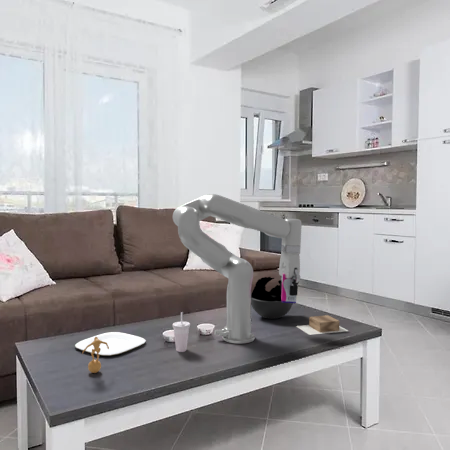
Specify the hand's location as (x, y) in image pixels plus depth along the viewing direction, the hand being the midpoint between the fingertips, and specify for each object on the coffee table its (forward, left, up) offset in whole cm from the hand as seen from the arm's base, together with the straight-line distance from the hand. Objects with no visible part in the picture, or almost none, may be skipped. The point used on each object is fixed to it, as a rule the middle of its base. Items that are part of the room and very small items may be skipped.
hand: (288, 292), depth 177 cm
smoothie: (-45, -6, -17) cm, 49 cm away
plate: (-69, +6, -18) cm, 72 cm away
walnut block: (+17, +1, -16) cm, 23 cm away
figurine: (-75, -19, -17) cm, 80 cm away
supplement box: (0, 0, -4) cm, 4 cm away
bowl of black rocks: (+3, +23, -17) cm, 29 cm away
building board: (+16, +1, -17) cm, 23 cm away
